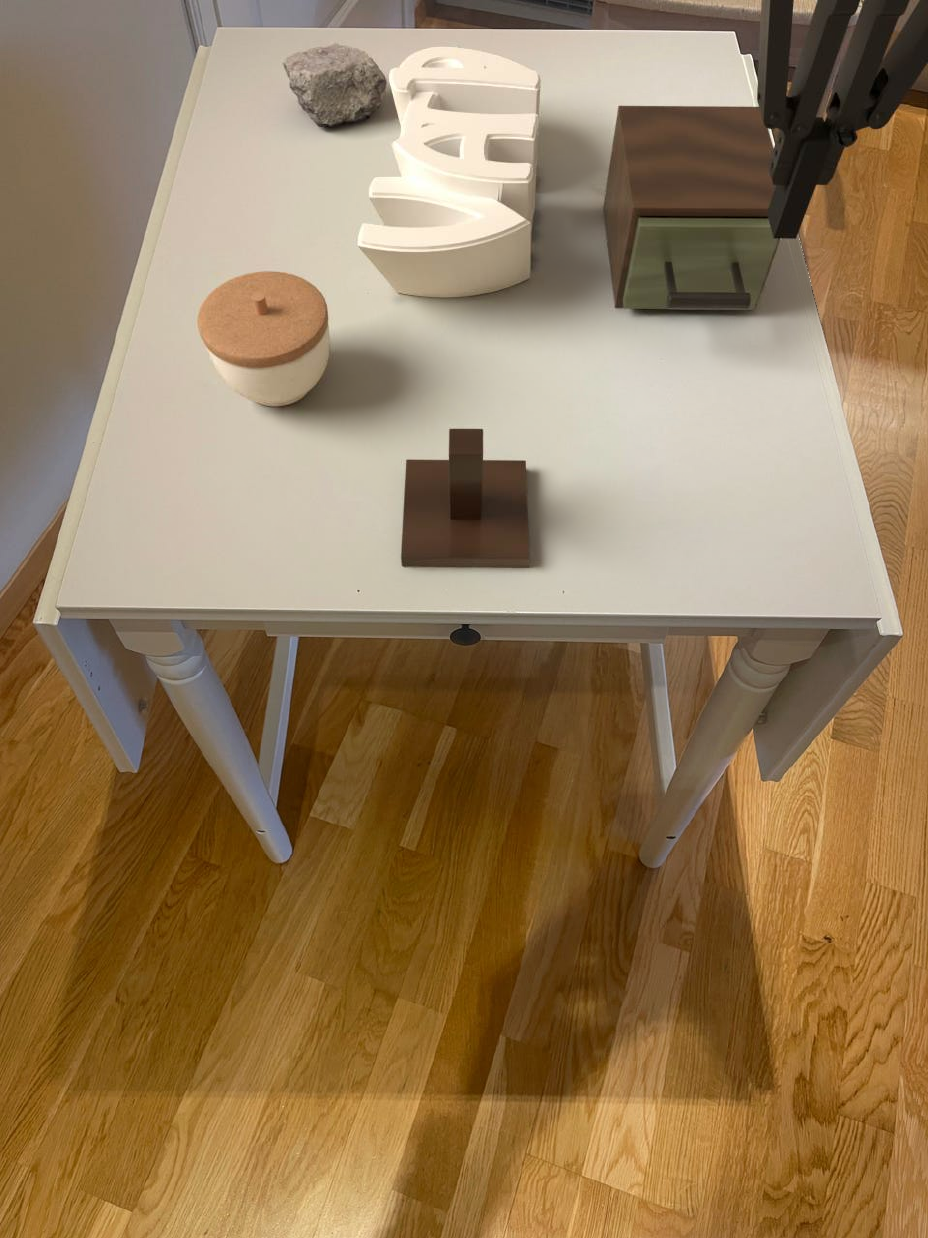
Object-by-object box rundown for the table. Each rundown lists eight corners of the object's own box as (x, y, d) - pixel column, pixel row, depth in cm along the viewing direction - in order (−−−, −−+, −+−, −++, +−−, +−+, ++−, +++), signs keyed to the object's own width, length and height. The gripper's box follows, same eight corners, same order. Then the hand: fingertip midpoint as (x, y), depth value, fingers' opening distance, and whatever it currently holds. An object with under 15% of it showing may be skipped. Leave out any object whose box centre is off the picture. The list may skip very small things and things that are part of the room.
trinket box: (353, 406, 78) (341, 322, 70) (235, 440, 76) (208, 357, 68) (318, 328, 83) (303, 241, 75) (206, 358, 81) (178, 271, 73)
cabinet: (755, 308, 85) (791, 208, 75) (614, 307, 85) (633, 207, 75) (732, 207, 92) (761, 106, 83) (602, 207, 92) (618, 105, 83)
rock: (391, 143, 102) (383, 72, 104) (389, 83, 94) (380, 8, 96) (293, 149, 101) (287, 77, 103) (282, 88, 93) (276, 12, 95)
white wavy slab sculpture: (520, 339, 82) (528, 240, 73) (348, 322, 83) (334, 223, 74) (552, 127, 100) (561, 26, 91) (410, 115, 101) (404, 14, 92)
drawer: (764, 350, 80) (795, 268, 73) (628, 349, 80) (645, 267, 73) (731, 213, 91) (756, 129, 83) (611, 212, 91) (625, 128, 83)
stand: (528, 567, 69) (536, 495, 61) (401, 566, 69) (394, 494, 61) (525, 469, 74) (532, 391, 67) (406, 468, 74) (400, 390, 67)
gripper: (1069, -285, 40) (866, 191, 61) (786, -287, 40) (677, 190, 61) (1131, -224, 37) (892, 263, 57) (818, -226, 37) (690, 261, 57)
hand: (781, 225), depth 59 cm, fingers closed
